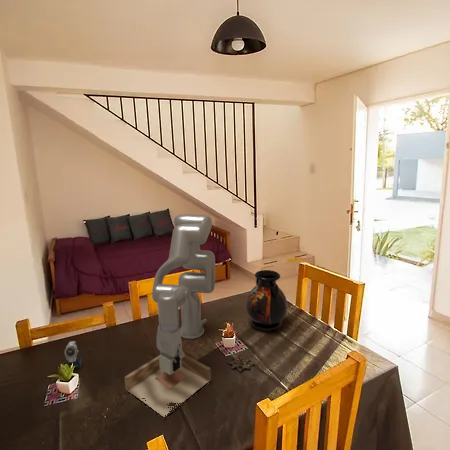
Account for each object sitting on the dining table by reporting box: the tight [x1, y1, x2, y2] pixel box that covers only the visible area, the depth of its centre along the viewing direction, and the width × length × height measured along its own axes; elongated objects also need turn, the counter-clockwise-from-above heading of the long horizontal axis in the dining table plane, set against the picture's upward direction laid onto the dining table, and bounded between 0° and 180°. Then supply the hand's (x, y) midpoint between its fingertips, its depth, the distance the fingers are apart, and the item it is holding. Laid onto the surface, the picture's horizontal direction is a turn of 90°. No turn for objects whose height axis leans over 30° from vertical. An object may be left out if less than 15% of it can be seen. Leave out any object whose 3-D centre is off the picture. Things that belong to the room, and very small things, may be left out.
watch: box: [63, 340, 83, 370], centre depth 137 cm, size 6×8×11 cm
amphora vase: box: [245, 269, 289, 332], centre depth 169 cm, size 22×22×28 cm
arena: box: [124, 354, 212, 417], centre depth 126 cm, size 24×22×6 cm
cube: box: [158, 353, 181, 375], centre depth 128 cm, size 6×6×6 cm
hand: (170, 365), depth 129 cm, fingers closed on cube, 6 cm apart
